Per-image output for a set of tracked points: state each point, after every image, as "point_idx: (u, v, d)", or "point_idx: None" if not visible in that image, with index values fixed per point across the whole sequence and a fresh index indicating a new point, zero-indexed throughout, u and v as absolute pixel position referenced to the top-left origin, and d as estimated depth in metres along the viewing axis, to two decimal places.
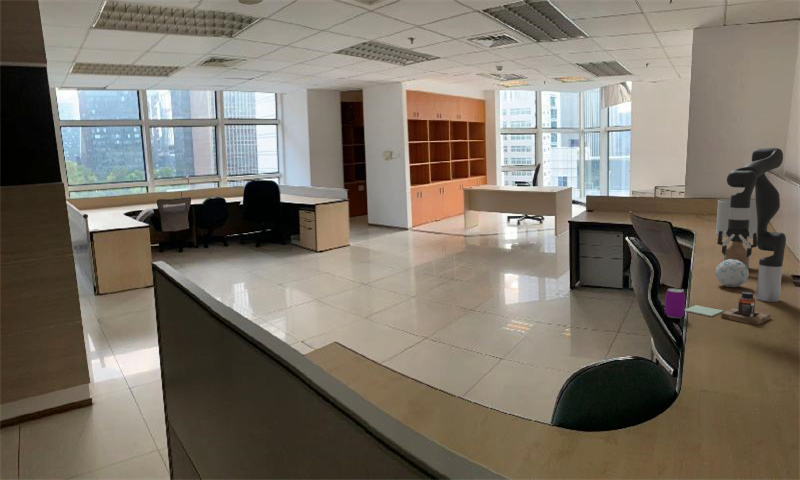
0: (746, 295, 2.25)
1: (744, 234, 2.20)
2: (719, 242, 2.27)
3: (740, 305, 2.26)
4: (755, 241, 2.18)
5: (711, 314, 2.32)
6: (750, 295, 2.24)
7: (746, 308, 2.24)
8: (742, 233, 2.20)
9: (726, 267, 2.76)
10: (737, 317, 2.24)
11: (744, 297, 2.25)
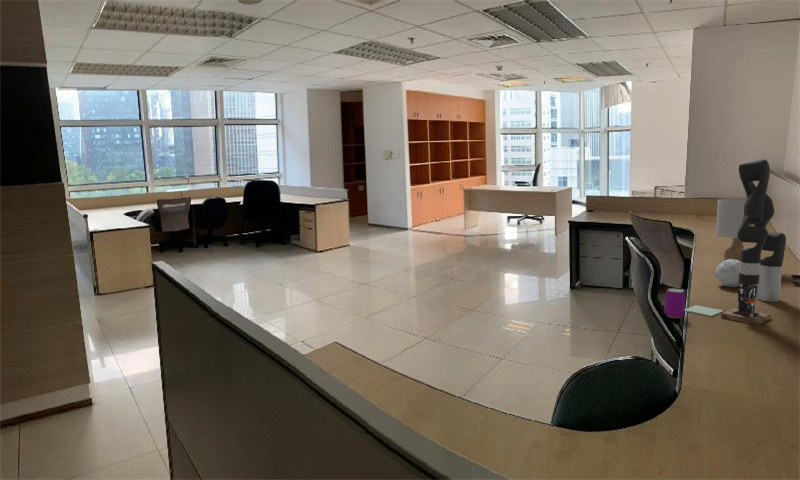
0: None
1: (753, 286, 2.26)
2: (745, 301, 2.22)
3: None
4: None
5: (711, 314, 2.32)
6: (750, 295, 2.24)
7: None
8: (752, 286, 2.26)
9: (726, 267, 2.76)
10: (737, 317, 2.24)
11: None
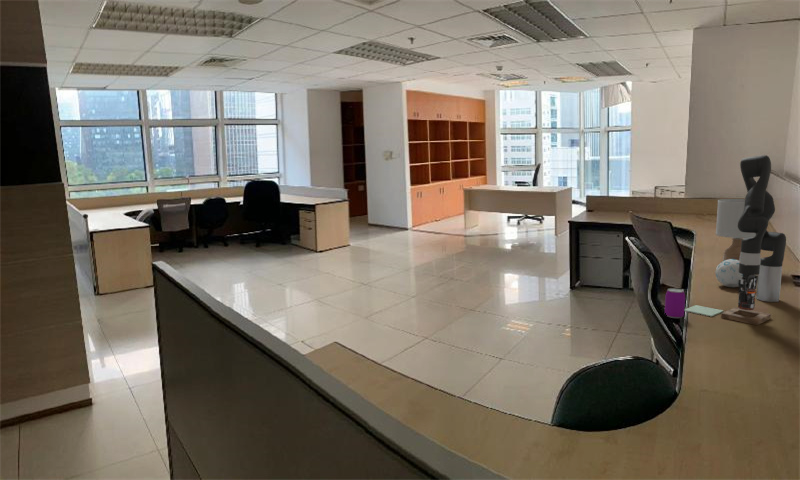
0: None
1: (753, 277, 2.25)
2: (745, 291, 2.21)
3: None
4: (756, 283, 2.28)
5: (711, 314, 2.32)
6: None
7: None
8: (753, 276, 2.25)
9: (726, 267, 2.76)
10: (737, 317, 2.24)
11: None
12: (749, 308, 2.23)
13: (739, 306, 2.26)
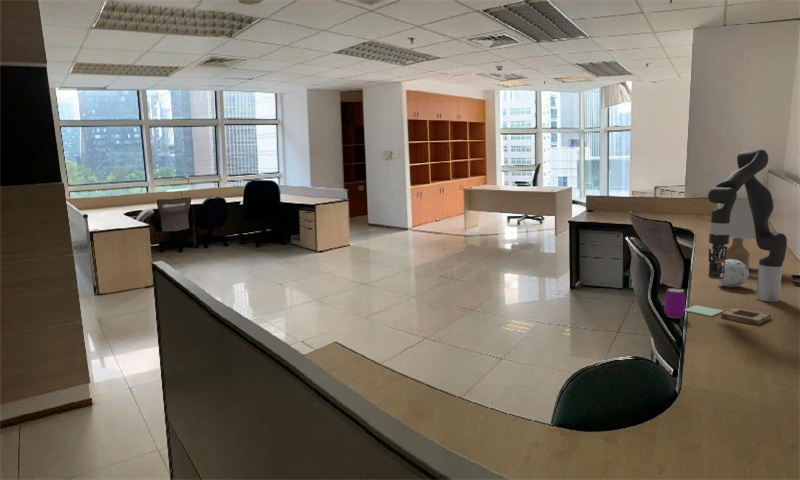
0: None
1: (723, 247, 2.32)
2: (715, 260, 2.27)
3: None
4: (726, 253, 2.34)
5: (711, 314, 2.32)
6: (720, 255, 2.29)
7: None
8: (722, 246, 2.31)
9: (726, 267, 2.76)
10: (737, 317, 2.24)
11: None
12: (719, 277, 2.30)
13: (709, 276, 2.33)
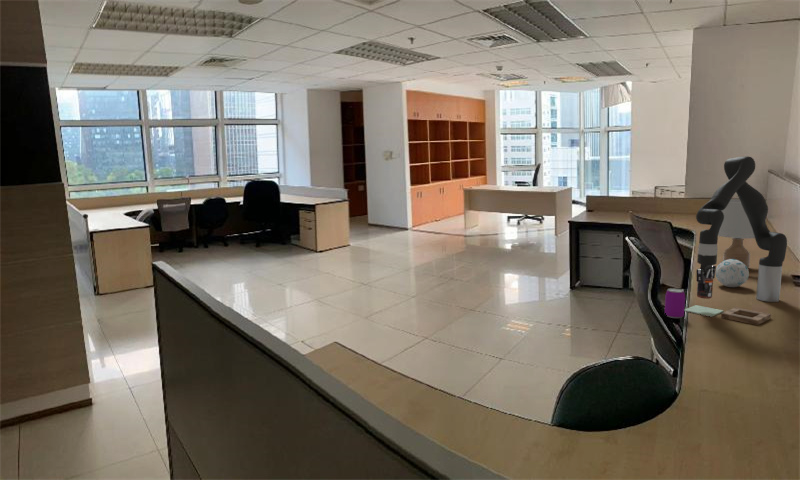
0: None
1: (711, 267, 2.36)
2: (703, 280, 2.32)
3: None
4: (714, 273, 2.39)
5: (711, 314, 2.32)
6: (708, 275, 2.34)
7: None
8: (711, 266, 2.36)
9: (726, 267, 2.76)
10: (737, 317, 2.24)
11: None
12: (707, 297, 2.34)
13: (698, 295, 2.37)
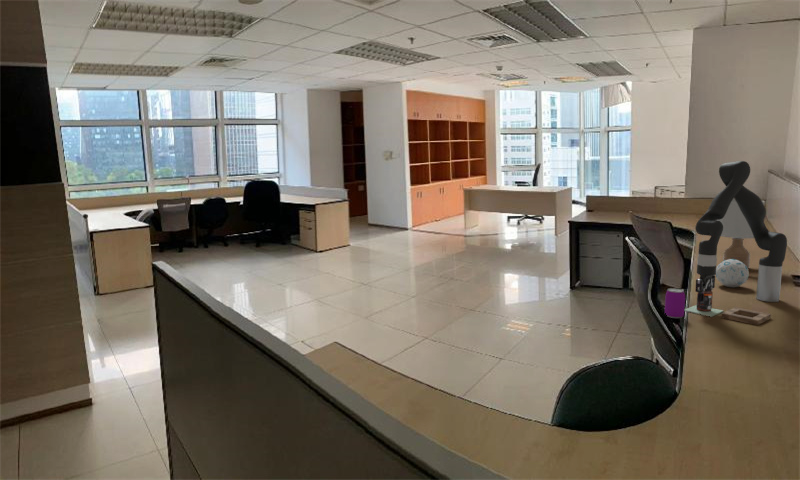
0: None
1: (710, 277, 2.37)
2: (701, 290, 2.32)
3: None
4: (714, 282, 2.39)
5: (711, 314, 2.32)
6: (707, 288, 2.35)
7: (703, 300, 2.35)
8: (710, 277, 2.36)
9: (726, 267, 2.76)
10: (737, 317, 2.24)
11: None
12: (706, 309, 2.35)
13: (697, 307, 2.38)
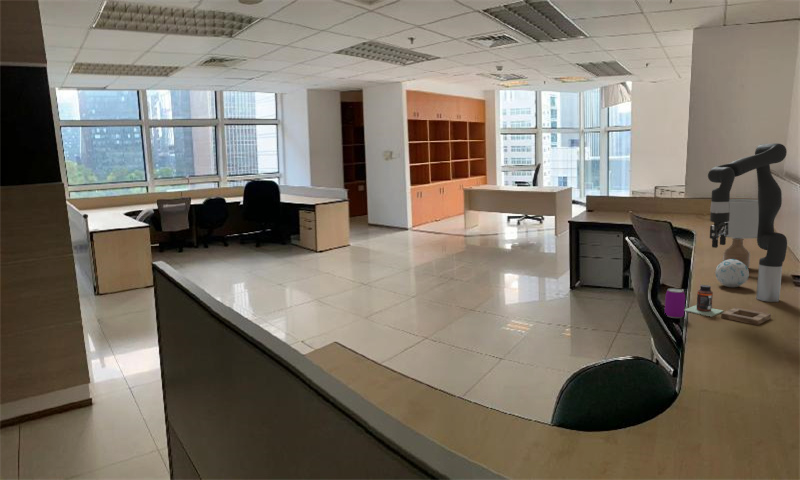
0: (704, 288, 2.35)
1: (724, 225, 2.40)
2: (716, 236, 2.35)
3: (699, 298, 2.37)
4: (727, 229, 2.43)
5: (711, 314, 2.32)
6: (707, 288, 2.35)
7: (703, 300, 2.35)
8: (723, 224, 2.40)
9: (726, 267, 2.76)
10: (737, 317, 2.24)
11: (702, 290, 2.36)
12: (706, 309, 2.35)
13: (697, 307, 2.38)
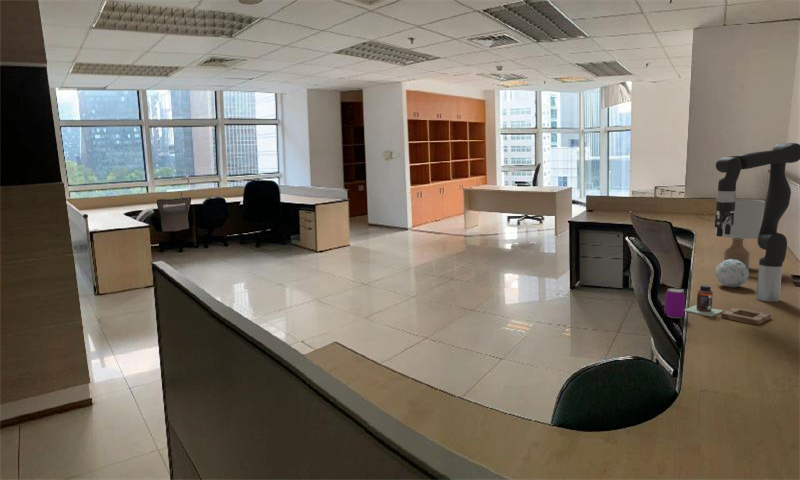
0: (704, 288, 2.35)
1: (729, 214, 2.44)
2: (721, 225, 2.39)
3: (699, 298, 2.37)
4: (733, 219, 2.47)
5: (711, 314, 2.32)
6: (707, 288, 2.35)
7: (703, 300, 2.35)
8: (729, 214, 2.43)
9: (726, 267, 2.76)
10: (737, 317, 2.24)
11: (702, 290, 2.36)
12: (706, 309, 2.35)
13: (697, 307, 2.38)
